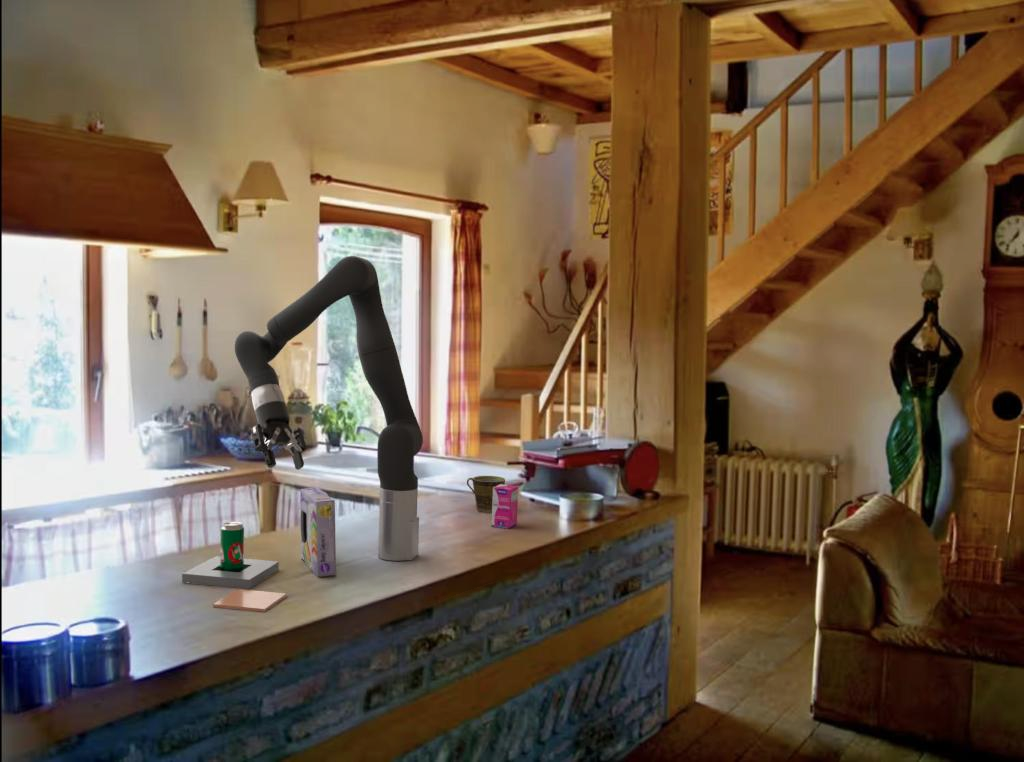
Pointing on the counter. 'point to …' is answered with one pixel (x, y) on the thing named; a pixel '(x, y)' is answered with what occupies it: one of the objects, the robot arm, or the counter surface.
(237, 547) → the soda can
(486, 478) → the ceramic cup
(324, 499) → the cake pan box
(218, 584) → the frame
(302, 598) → the counter surface
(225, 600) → the terracotta tile
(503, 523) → the supplement box
